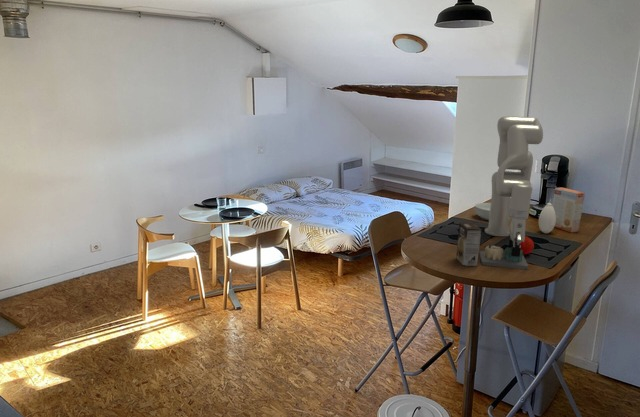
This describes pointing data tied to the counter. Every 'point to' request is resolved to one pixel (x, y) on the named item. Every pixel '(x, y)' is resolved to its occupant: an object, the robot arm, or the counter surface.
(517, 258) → the teal gear
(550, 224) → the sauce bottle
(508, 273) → the counter surface
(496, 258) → the gear board
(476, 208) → the cereal bowl
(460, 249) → the brown printed box
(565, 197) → the cracker box
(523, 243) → the tomato
